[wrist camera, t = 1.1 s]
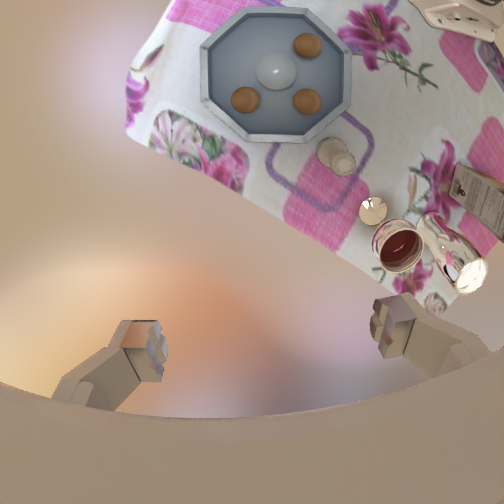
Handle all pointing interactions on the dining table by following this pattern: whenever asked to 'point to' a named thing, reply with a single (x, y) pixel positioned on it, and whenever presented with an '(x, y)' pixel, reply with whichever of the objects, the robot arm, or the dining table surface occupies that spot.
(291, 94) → the ring dish
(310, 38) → the walnut bead
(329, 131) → the dining table surface
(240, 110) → the walnut bead
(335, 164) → the rook chess piece
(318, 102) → the walnut bead
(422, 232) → the beer glass
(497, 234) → the coffee box
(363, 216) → the wineglass
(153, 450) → the robot arm
